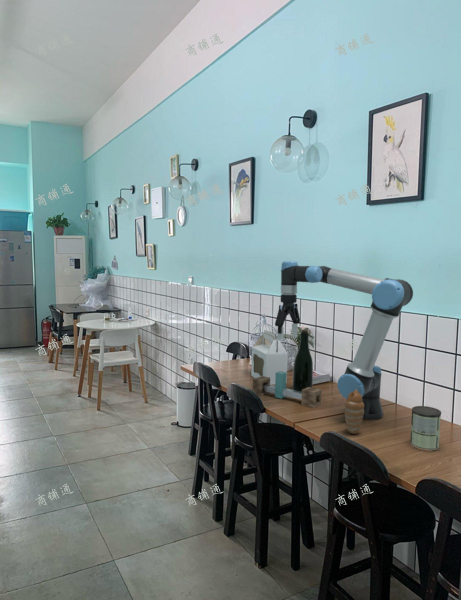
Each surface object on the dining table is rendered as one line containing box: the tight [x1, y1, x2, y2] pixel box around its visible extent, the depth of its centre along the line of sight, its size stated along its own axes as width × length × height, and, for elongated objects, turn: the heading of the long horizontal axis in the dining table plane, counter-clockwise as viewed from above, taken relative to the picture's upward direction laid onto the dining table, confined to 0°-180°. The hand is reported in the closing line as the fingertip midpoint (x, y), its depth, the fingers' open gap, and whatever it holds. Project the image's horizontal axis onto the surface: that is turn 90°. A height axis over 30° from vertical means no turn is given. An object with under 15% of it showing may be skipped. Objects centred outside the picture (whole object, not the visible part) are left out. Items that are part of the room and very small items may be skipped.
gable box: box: [250, 329, 289, 385], centre depth 269 cm, size 22×13×28 cm, turn 19°
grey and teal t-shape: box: [262, 371, 302, 401], centre depth 233 cm, size 28×4×13 cm, turn 53°
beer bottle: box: [292, 329, 314, 392], centre depth 246 cm, size 10×10×33 cm
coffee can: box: [409, 405, 442, 450], centre depth 176 cm, size 10×10×14 cm
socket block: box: [251, 376, 271, 397], centre depth 241 cm, size 5×9×8 cm, turn 143°
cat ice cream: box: [343, 389, 364, 435], centre depth 187 cm, size 9×8×18 cm
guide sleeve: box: [300, 386, 323, 409], centre depth 224 cm, size 7×7×8 cm
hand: (287, 338), depth 220 cm, fingers open, 13 cm apart
